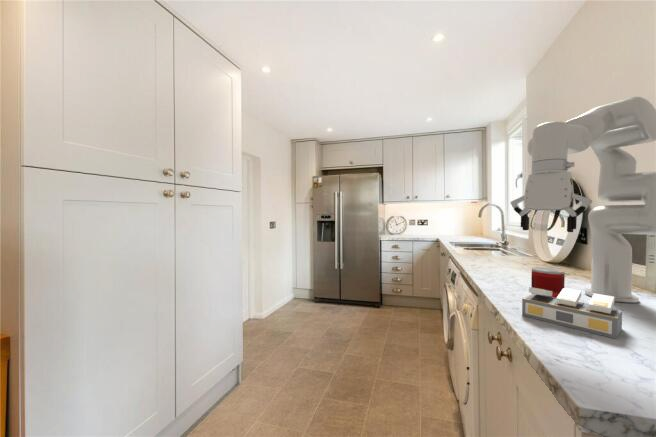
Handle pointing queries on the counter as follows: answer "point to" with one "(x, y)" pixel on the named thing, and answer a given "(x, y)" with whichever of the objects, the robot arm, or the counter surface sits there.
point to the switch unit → (573, 315)
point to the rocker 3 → (601, 303)
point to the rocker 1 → (540, 291)
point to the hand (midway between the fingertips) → (546, 231)
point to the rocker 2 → (569, 297)
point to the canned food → (548, 280)
